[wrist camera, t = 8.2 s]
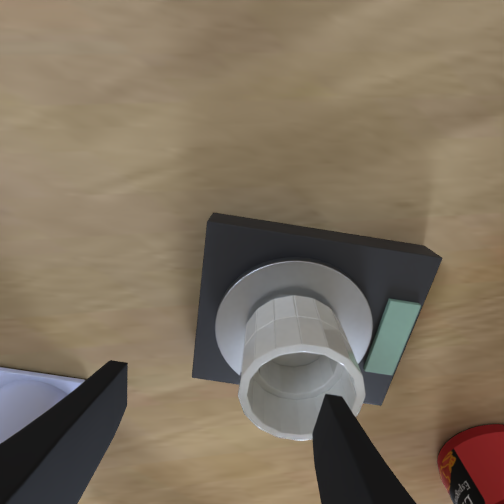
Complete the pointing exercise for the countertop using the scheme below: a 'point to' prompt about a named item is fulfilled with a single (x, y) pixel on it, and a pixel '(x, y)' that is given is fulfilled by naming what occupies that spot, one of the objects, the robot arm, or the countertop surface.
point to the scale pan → (289, 284)
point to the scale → (329, 251)
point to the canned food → (474, 465)
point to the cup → (296, 366)
